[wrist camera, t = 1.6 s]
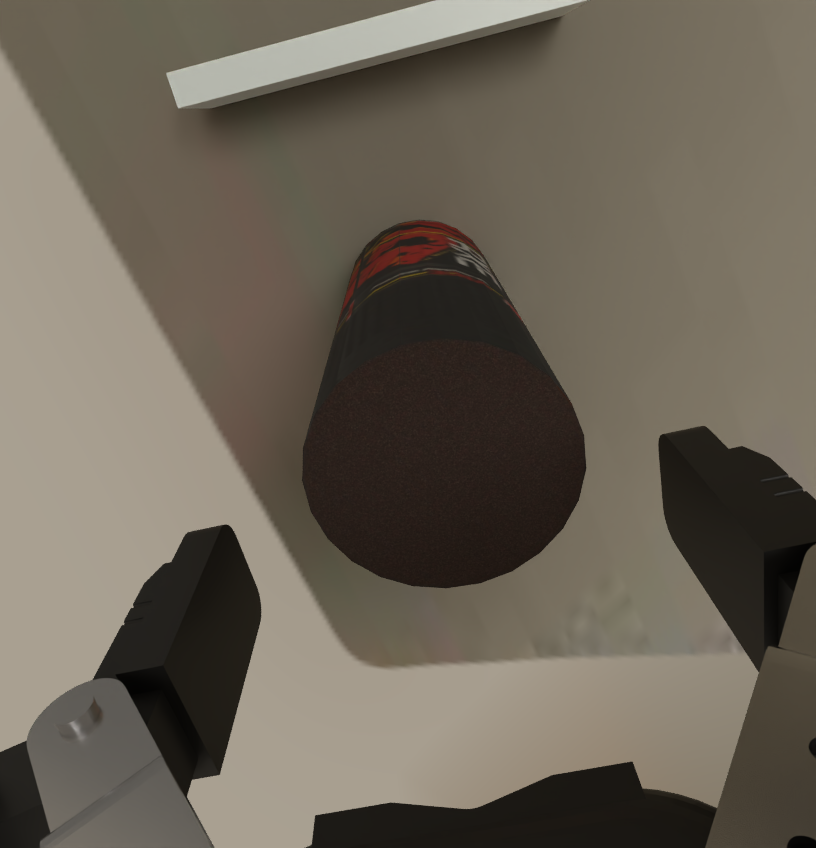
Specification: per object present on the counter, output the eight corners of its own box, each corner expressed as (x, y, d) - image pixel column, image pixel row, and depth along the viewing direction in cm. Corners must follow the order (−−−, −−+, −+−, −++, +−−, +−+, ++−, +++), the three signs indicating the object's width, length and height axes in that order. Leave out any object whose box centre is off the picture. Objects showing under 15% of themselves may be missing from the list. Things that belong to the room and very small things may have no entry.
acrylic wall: (200, 78, 24) (165, 72, 20) (559, -18, 23) (589, -42, 19) (210, 108, 24) (178, 108, 21) (563, 16, 23) (593, -2, 20)
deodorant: (509, 238, 26) (628, 372, 13) (471, 374, 29) (536, 607, 15) (364, 204, 26) (328, 308, 12) (337, 346, 28) (282, 563, 15)
